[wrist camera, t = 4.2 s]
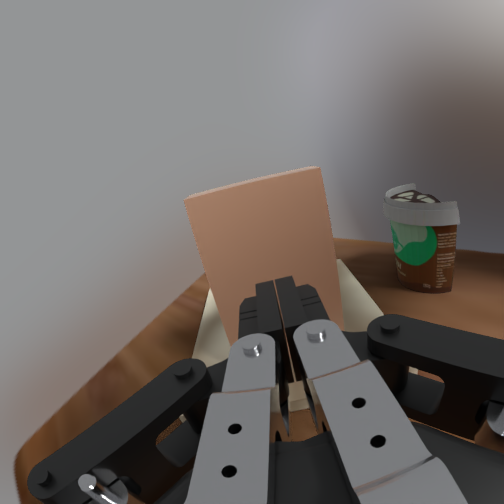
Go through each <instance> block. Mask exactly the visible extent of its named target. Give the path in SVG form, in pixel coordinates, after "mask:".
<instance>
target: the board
mask: <svg viewBox="0 0 504 504" xmlns="http://www.w3.org/2000/svg"><path fill="white" fill-rule="evenodd" d="M336 262H337V269H338V277H339V284H340V293H341V302H342V311H343V321H344V331H347V332H362V331H367V327H368V325H369V323H370V322H371V321H372V320H374V319H375V318H377V317H380V316H383V315H384V314H383V313H382V311H381V310H380V309H379V307H378V306H377V305H376V304H375V302H374V301H373V300H372V298H371V297H370V296H369V295H368V293H367V292H366V291H365V289H364V288H363V287H362V286H361V284H360V283H359V282H358V281H357V279H356V278H355V277H354V276H353V274H352V273H351V272H350V271H349V269H348V268H347V267H346V266H345V264H344V263H343V262H342V261H341V259H337V260H336ZM230 348H231V346H230V343H229V341H228V338H227V335H226V332H225V329H224V326H223V324H222V321H221V318H220V315H219V312H218V309H217V306H216V303H215V300H214V297H213V294H212V291H211V289H210V290H209V293H208V297H207V301H206V305H205V308H204V312H203V316H202V320H201V324H200V328H199V332H198V336H197V340H196V344H195V348H194V352H193V356H192V358H195V359H199V360H201V361H203V362H204V363H205V365H206V367H209V366H212V365H214V364H217V363H219V362H222V361H224V360H225V359H227V358H228V357H229V352H230ZM290 361H291V367H292V372H293V377H294V382H293V383H289V384H288V385H289V399H290V410H291V412H292V411H297V410H302V409H306V408H309V407H308V404H307V401H306V397H305V392H304V387H303V382H302V381H297V382H296V378H295V373H294V369H293V364H292V360H291V358H290ZM409 372H411V373H414V374H418V369H415V368H412V367H409ZM179 418H180V420H181V421H182V423H183V422H184V421H185V420H186V418H185V417H184V415H183V414H182V415H181V416H180V417H179Z"/></svg>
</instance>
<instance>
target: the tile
mask: <svg viewBox="0 0 504 504" xmlns="http://www.w3.org/2000/svg"><path fill="white" fill-rule="evenodd" d="M184 203H185V207H186V210H187V214H188V217H189V221H190V224H191V227H192V231H193V234H194V237H195V241H196V244H197V247H198V250H199V254H200V257H201V260H202V263H203V266H204V269H205V273H206V276H207V279H208V282H209V285H210V288H211V291H212V294H213V297H214V300H215V303H216V306H217V309H218V312H219V315H220V318H221V321H222V324H223V326H224V329H225V332H226V335H227V338H228V341H229V343H230V346H232V345H233V344H234V343H235V342H236V341H237V340H238V328H239V306H240V305H241V303H242V302H243V300H244V299H245V298H249V297H253V296H256V288H255V284H257V283H262V282H266V281H270V280H273V282H274V286H275V290H276V295H277V299H278V294H277V289H276V284H275V279H279V278H283V277H287V276H291V275H292V277H293V279H294V282H295V285H296V287H297V286H301V285H305V284H309V285H310V286H312V287H314V288H316V291H317V293H318V295H319V297H320V299H321V302H322V303H323V305H324V308H325V310H326V312H327V314H328V316H329V318H330V321H332V322H334V323H336V324H337V325H338V327H339V328H340V330H342V331H344V321H343V311H342V302H341V293H340V284H339V277H338V269H337V262H336V255H335V248H334V241H333V235H332V229H331V223H330V217H329V211H328V205H327V200H326V194H325V189H324V184H323V179H322V175H321V169H320V167H315V166H309V167H305V168H299V169H295V170H290V171H285V172H281V173H276V174H272V175H267V176H263V177H259V178H254V179H250V180H246V181H242V182H238V183H234V184H230V185H226V186H222V187H218V188H214V189H211V190H207V191H203V192H200V193H196V194H192V195H190V196H188V197H187V198H186V199H185V200H184ZM278 303H279V299H278ZM279 308H280V304H279ZM280 312H281V309H280ZM281 316H282V314H281ZM282 321H283V319H282ZM283 325H284V324H283ZM284 330H285V329H284ZM285 336H286V333H285ZM286 341H287V338H286ZM287 346H288V342H287ZM288 351H289V346H288ZM289 356H290V358H291V355H290V351H289Z"/></svg>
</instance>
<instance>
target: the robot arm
mask: <svg viewBox="0 0 504 504" xmlns="http://www.w3.org/2000/svg"><path fill="white" fill-rule="evenodd" d="M275 284H276V289H277V294H278V299H279V303H278V299H277V295H276V290H275V286H274V282H273V280H270V281H266V282H262V283H257V284H255V288H256V296H253V297H249V298H245V299H244V300H243V302H242V303H241V305H240V306H239V328H238V340H237V341H236V342H235V343H234V344H233V345H232V346H231V348H230V352H229V357H228V358H227V359H225V360H224V361H222V362H219V363H217V364H214V365H212V366H209V367H206V365H205V363H204V362H203V361H201V360H199V359H195V358H189V359H184V360H180V361H178V362H176V363H174V364H172V365H171V366H170V367H168V368H167V369H166V370H165V371H163V372H162V373H161V374H160V375H158V376H157V377H156V378H154V379H153V380H152V381H151V382H149V383H148V384H147V385H145V386H144V387H143V388H142V389H140V390H139V391H138V392H136V393H135V394H134V395H132V396H131V397H130V398H128V399H127V400H126V401H125V402H123V403H122V404H121V405H119V406H118V407H117V408H115V409H114V410H113V411H111V412H110V413H109V414H107V415H106V416H104V417H103V418H102V419H100V420H99V421H98V422H96V423H95V424H94V425H92V426H91V427H89V428H88V429H87V430H85V431H84V432H83V433H81V434H80V435H78V436H77V437H76V438H74V439H73V440H71V441H70V442H69V443H67V444H66V445H64V446H63V447H62V448H60V449H59V450H57V451H56V452H54V453H53V454H51V455H50V456H49V457H47V458H46V459H44V460H43V461H41V462H40V463H38V464H37V465H36V466H35V467H34V468H33V469H32V470H31V472H30V473H29V476H28V481H27V485H28V489H29V491H30V493H31V494H32V495H33V496H34V497H36V498H37V499H38V500H40V501H41V502H42V503H44V504H504V340H502V339H497V338H493V337H489V336H484V335H480V334H476V333H471V332H467V331H463V330H459V329H454V328H450V327H446V326H442V325H438V324H434V323H430V322H426V321H421V320H417V319H413V318H409V317H405V316H402V315H396V314H388V315H383V316H380V317H377V318H375V319H374V320H372V321H371V322H370V323H369V325H368V327H367V331H362V332H347V331H342V330H340V328H339V327H338V325H337V324H336V323H334V322H332V321H330V318H329V316H328V314H327V312H326V310H325V308H324V305H323V303H322V302H321V299H320V297H319V295H318V293H317V291H316V288H314V287H312V286H310V285H309V284H305V285H301V286H297V287H296V285H295V282H294V279H293V277H292V275H291V276H287V277H283V278H279V279H275ZM279 304H280V308H279ZM280 309H281V312H280ZM281 314H282V316H281ZM282 319H283V321H282ZM283 324H284V325H283ZM284 329H285V330H284ZM285 333H286V336H285ZM286 338H287V341H286ZM287 342H288V346H289V351H290V355H291V360H292V364H293V369H294V373H295V378H296V382H297V381H302V382H303V387H304V392H305V397H306V401H307V404H308V407H309V410H310V413H311V416H312V419H313V422H314V425H315V428H316V431H317V434H318V435H317V436H314V437H312V438H310V439H307V440H305V441H300V442H292V433H291V410H290V399H289V385H288V384H289V383H293V382H294V377H293V372H292V367H291V361H290V356H289V351H288V346H287ZM409 367H412V368H415V369H418V370H422V371H425V372H428V373H431V374H434V375H437V376H439V377H440V378H441V379H442V380H443V381H444V383H442V382H439V381H435V380H432V379H429V378H426V377H423V376H420V375H417V374H414V373H411V372H409ZM182 414H183V415H184V417H185V418H186V420H185V421H184V422H183V423H182V424H181V425H180V426H179V427H178V428H176V429H175V430H174V431H173V432H172V433H171V434H170V435H168V436H167V437H166V438H165V439H164V440H163V441H161V442H160V443H159V444H158V445H156V444H155V442H156V438H157V437H158V435H159V434H160V433H161V432H162V431H164V430H165V429H166V428H167V427H168V426H169V425H171V424H172V423H173V422H174V421H175V420H176V419H177V418H179V417H180V416H181V415H182ZM407 417H408V418H411V419H413V420H416V421H419V422H421V423H424V424H427V425H429V426H432V427H435V428H437V429H440V430H443V431H446V432H449V433H452V434H455V435H458V436H461V437H464V438H467V439H470V440H473V441H475V444H474V443H471V442H468V441H465V440H463V439H460V438H457V437H455V436H452V435H450V434H447V433H444V432H442V431H439V430H437V429H434V428H432V427H429V426H427V425H424V424H420V423H416V422H410V421H409V419H408V418H407Z"/></svg>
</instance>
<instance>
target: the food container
mask: <svg viewBox="0 0 504 504" xmlns="http://www.w3.org/2000/svg"><path fill="white" fill-rule="evenodd" d="M383 214H384V216H385V217H386V218H388V219H390V224H391V230H392V236H393V243H394V250H395V258H396V266H397V275H398V279H399V281H400V283H401V284H403V285H404V286H405V287H407V288H409V289H411V290H414V291H418V292H423V293H445V292H450V291H451V289H452V281H453V272H454V262H455V250H456V233H457V224H460V219H459V211H458V208H457V201H452V202H443V203H441V202H440V201H439V200H438V199H436V198H435V197H434V196H432V195H429V194H422V193H419V192H417V191H416V189H415V183H412V184H407V185H402V186H398V187H395V188H393V189H390V190H389V191H388V192H387V193H386V197H385V199H384V208H383Z"/></svg>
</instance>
